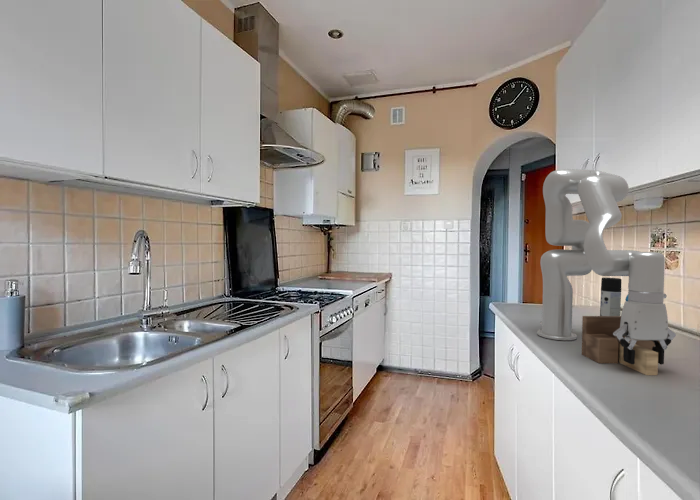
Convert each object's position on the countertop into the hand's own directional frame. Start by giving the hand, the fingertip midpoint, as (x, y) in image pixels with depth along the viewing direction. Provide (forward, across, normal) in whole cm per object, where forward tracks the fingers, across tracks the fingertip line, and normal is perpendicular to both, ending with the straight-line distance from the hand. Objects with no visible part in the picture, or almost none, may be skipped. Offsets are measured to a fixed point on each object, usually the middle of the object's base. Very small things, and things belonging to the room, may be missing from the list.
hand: (643, 362), depth 101 cm
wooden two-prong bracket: (+2, 0, -10) cm, 10 cm away
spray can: (+3, -24, -47) cm, 53 cm away
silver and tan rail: (+2, 0, -4) cm, 5 cm away
